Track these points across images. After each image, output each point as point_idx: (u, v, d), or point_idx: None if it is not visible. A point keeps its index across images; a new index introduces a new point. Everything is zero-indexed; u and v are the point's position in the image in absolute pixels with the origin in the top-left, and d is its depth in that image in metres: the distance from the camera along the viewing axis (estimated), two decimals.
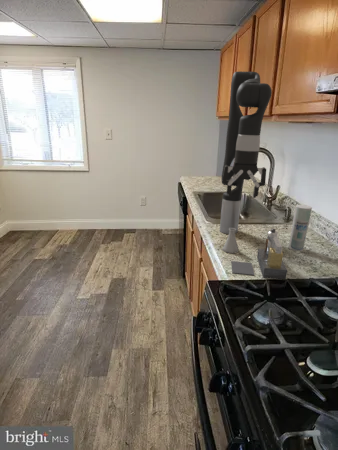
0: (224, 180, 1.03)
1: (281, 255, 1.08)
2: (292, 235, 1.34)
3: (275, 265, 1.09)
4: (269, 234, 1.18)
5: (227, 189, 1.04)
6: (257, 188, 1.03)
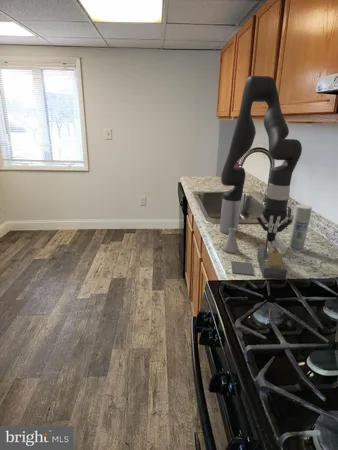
0: (265, 228, 1.11)
1: (281, 255, 1.08)
2: (292, 235, 1.34)
3: (275, 265, 1.09)
4: None
5: (267, 235, 1.12)
6: (274, 233, 1.11)
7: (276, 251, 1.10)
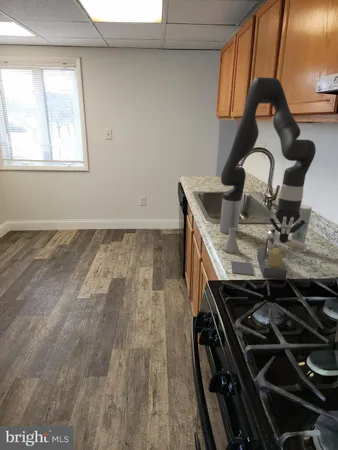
0: (278, 229, 1.10)
1: (281, 255, 1.08)
2: (292, 235, 1.34)
3: (275, 265, 1.09)
4: (272, 235, 1.17)
5: (280, 236, 1.11)
6: (287, 234, 1.11)
7: (276, 251, 1.10)
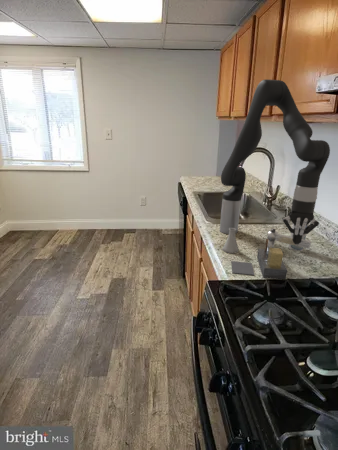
0: (291, 230, 1.10)
1: (281, 255, 1.08)
2: (292, 235, 1.34)
3: (275, 265, 1.09)
4: (274, 235, 1.17)
5: (294, 238, 1.11)
6: (300, 236, 1.10)
7: (276, 251, 1.10)
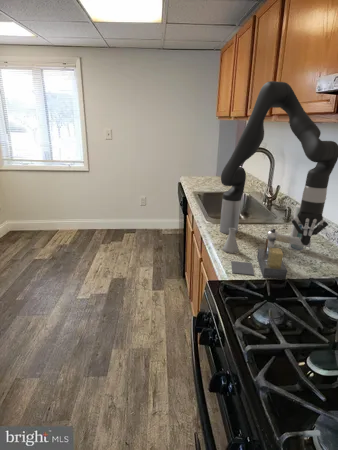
0: (300, 230, 1.09)
1: (281, 255, 1.08)
2: (292, 235, 1.34)
3: (275, 265, 1.09)
4: (274, 235, 1.17)
5: (302, 238, 1.10)
6: (309, 236, 1.10)
7: (276, 251, 1.10)
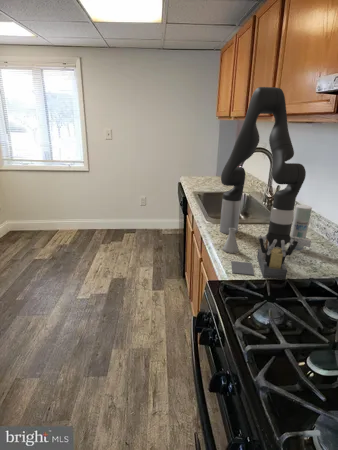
0: (263, 250, 1.10)
1: (281, 255, 1.08)
2: (292, 235, 1.34)
3: (275, 265, 1.09)
4: None
5: (266, 258, 1.11)
6: (283, 257, 1.10)
7: (276, 251, 1.10)
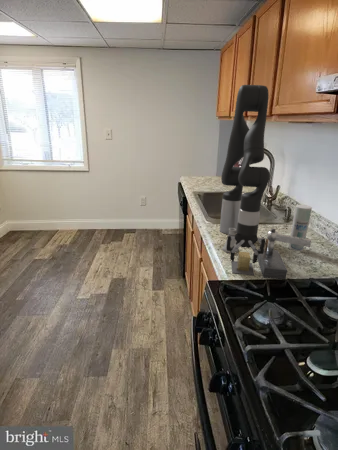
0: (228, 248, 1.14)
1: (248, 259, 1.12)
2: (292, 235, 1.34)
3: (243, 268, 1.14)
4: (274, 235, 1.17)
5: (231, 255, 1.15)
6: (256, 255, 1.13)
7: (244, 255, 1.14)
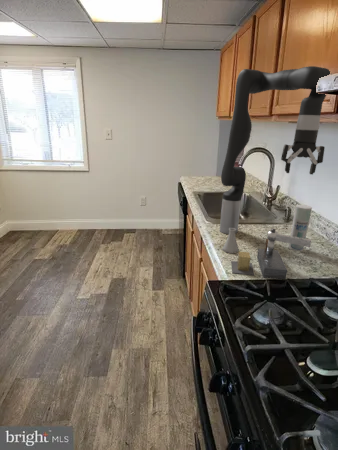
0: (284, 158, 1.12)
1: (248, 259, 1.12)
2: (292, 235, 1.34)
3: (243, 268, 1.14)
4: (274, 235, 1.17)
5: (286, 166, 1.13)
6: (315, 165, 1.11)
7: (244, 255, 1.14)
